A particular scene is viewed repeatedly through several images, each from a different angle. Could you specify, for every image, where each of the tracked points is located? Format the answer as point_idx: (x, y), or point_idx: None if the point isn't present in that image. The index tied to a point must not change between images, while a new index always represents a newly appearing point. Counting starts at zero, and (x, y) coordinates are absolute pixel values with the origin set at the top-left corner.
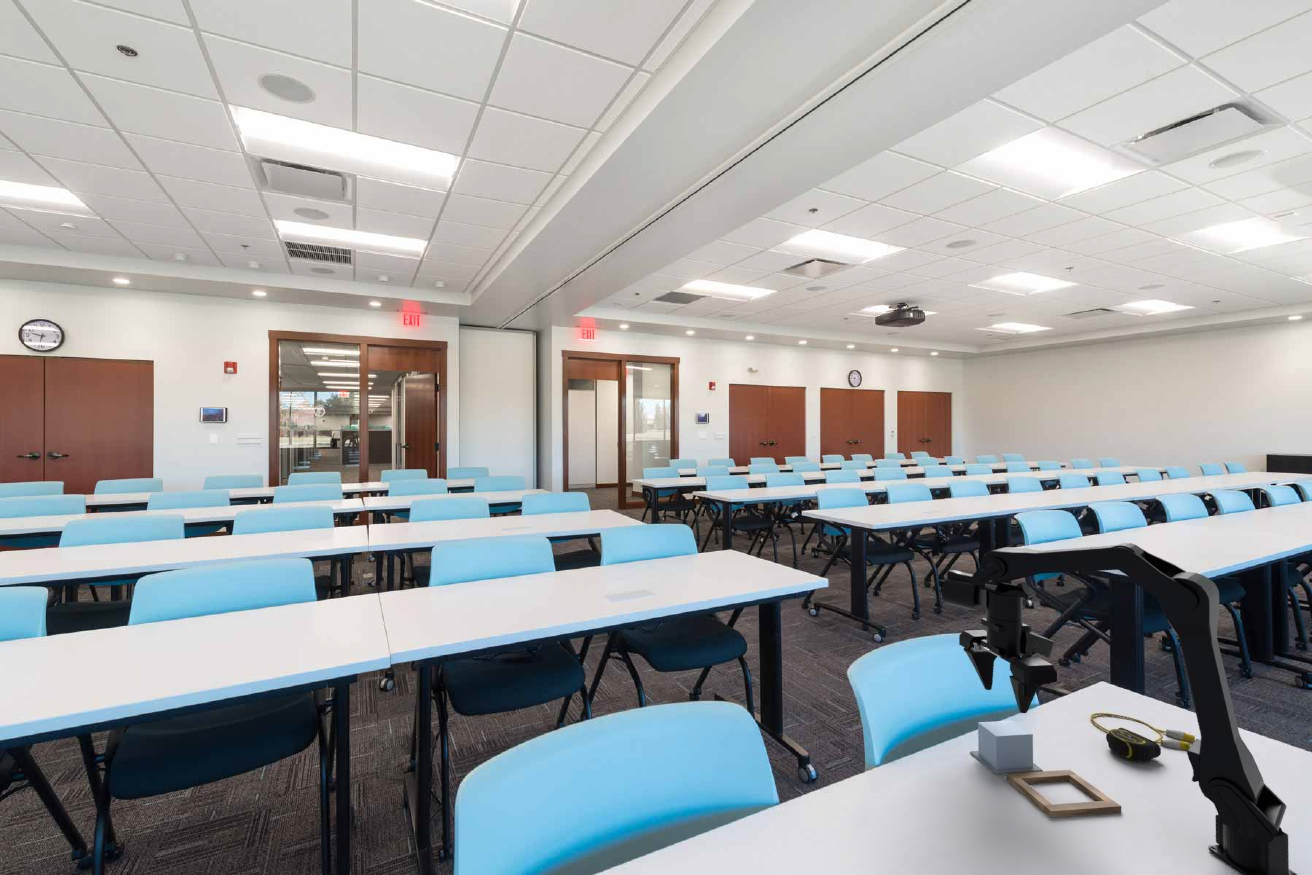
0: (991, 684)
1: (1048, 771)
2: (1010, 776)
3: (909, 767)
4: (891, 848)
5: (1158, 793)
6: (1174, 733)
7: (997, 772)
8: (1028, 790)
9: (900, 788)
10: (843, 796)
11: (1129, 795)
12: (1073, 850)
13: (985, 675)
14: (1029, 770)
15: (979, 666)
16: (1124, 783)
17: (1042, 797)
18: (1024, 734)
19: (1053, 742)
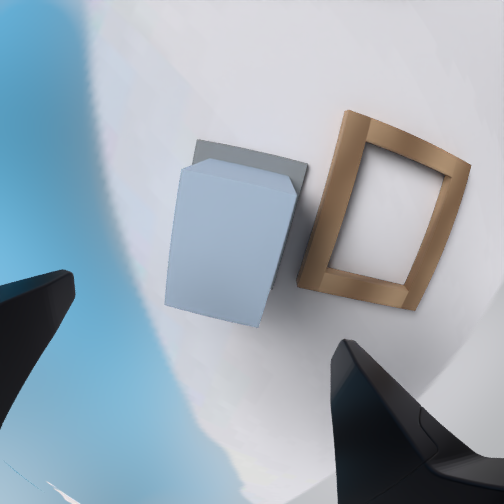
0: (56, 286)
1: (333, 174)
2: (309, 288)
3: (200, 393)
4: (324, 464)
5: (444, 24)
6: None
7: (272, 282)
8: (361, 296)
9: (245, 427)
10: (238, 462)
11: (438, 79)
12: (451, 334)
13: (28, 343)
14: (296, 200)
15: (3, 397)
16: (405, 36)
17: (388, 290)
18: (286, 228)
19: (205, 6)
